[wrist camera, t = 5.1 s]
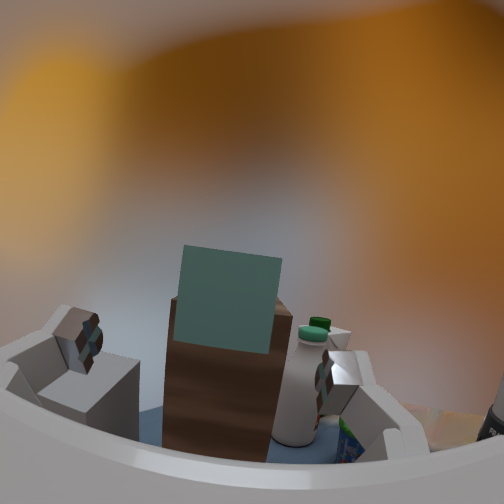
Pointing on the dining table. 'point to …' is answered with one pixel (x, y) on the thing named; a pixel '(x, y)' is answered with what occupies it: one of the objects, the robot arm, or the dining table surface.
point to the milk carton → (331, 334)
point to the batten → (226, 299)
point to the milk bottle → (300, 391)
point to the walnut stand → (223, 395)
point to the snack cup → (347, 445)
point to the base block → (99, 396)
